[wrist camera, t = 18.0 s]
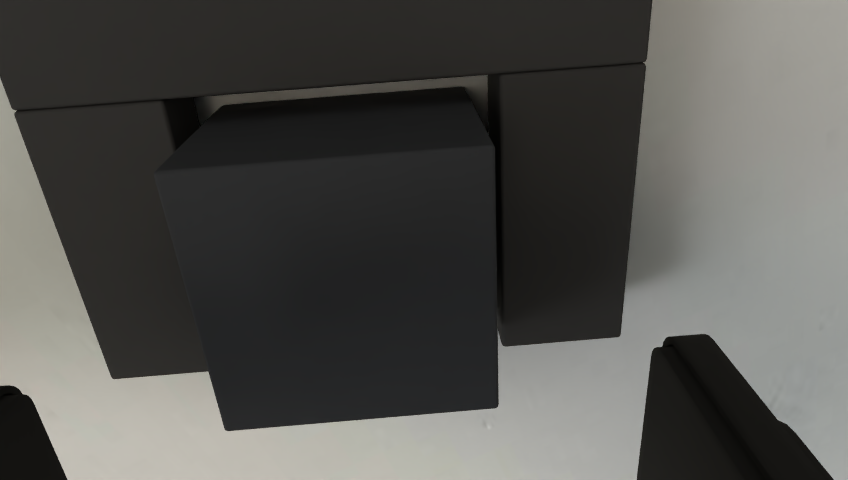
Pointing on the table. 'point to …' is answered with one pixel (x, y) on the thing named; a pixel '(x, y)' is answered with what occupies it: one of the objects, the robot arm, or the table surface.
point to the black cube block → (340, 256)
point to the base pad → (326, 67)
